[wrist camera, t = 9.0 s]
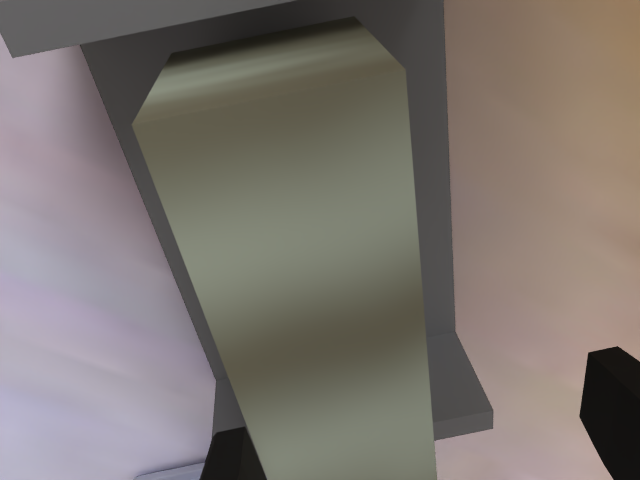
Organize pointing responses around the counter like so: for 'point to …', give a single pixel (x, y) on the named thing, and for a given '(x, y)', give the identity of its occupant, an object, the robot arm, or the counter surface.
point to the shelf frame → (252, 20)
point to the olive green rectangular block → (302, 242)
